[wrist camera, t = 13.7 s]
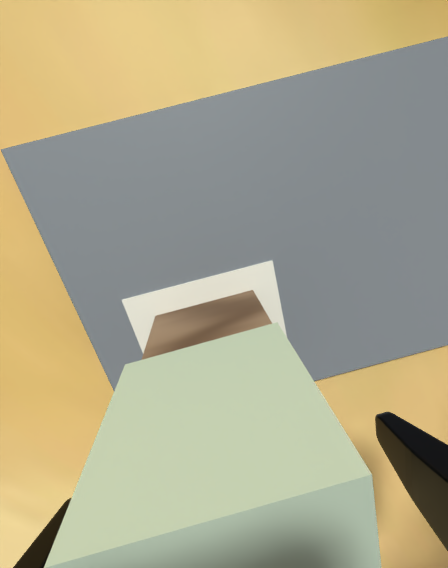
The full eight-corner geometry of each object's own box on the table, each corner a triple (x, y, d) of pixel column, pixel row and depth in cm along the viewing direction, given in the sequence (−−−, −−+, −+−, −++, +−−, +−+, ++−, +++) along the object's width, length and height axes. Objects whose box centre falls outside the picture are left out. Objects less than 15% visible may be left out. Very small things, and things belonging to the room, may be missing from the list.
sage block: (277, 322, 9) (372, 474, 4) (301, 436, 10) (388, 637, 6) (125, 364, 9) (43, 568, 4) (173, 472, 10) (156, 704, 6)
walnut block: (252, 289, 14) (282, 341, 9) (271, 371, 15) (304, 450, 11) (155, 315, 14) (134, 382, 9) (184, 394, 15) (179, 484, 11)
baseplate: (470, 35, 12) (487, 25, 11) (455, 335, 17) (466, 341, 16) (10, 151, 11) (-1, 149, 11) (134, 421, 17) (132, 431, 16)
